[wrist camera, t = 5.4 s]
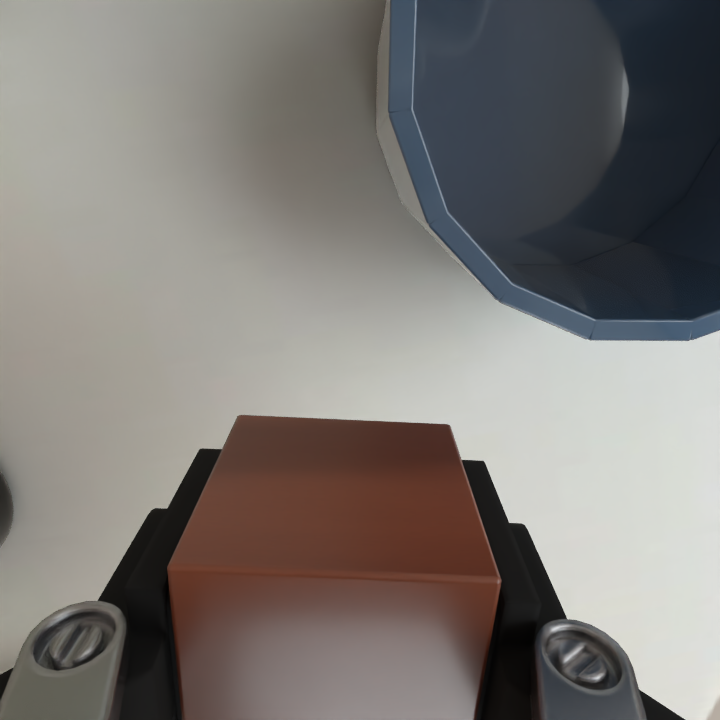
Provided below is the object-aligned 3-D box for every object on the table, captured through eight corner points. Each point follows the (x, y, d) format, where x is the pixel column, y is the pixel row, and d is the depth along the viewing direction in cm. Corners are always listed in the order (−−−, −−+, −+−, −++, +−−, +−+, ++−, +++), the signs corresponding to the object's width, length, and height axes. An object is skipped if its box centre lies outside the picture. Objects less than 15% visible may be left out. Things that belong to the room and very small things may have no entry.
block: (237, 413, 11) (163, 566, 7) (451, 422, 11) (504, 580, 7) (243, 581, 13) (186, 788, 8) (430, 589, 13) (463, 797, 9)
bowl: (477, -210, 15) (590, -564, 7) (818, -16, 16) (1179, -157, 9) (322, 197, 18) (299, 216, 11) (614, 324, 20) (758, 413, 13)
